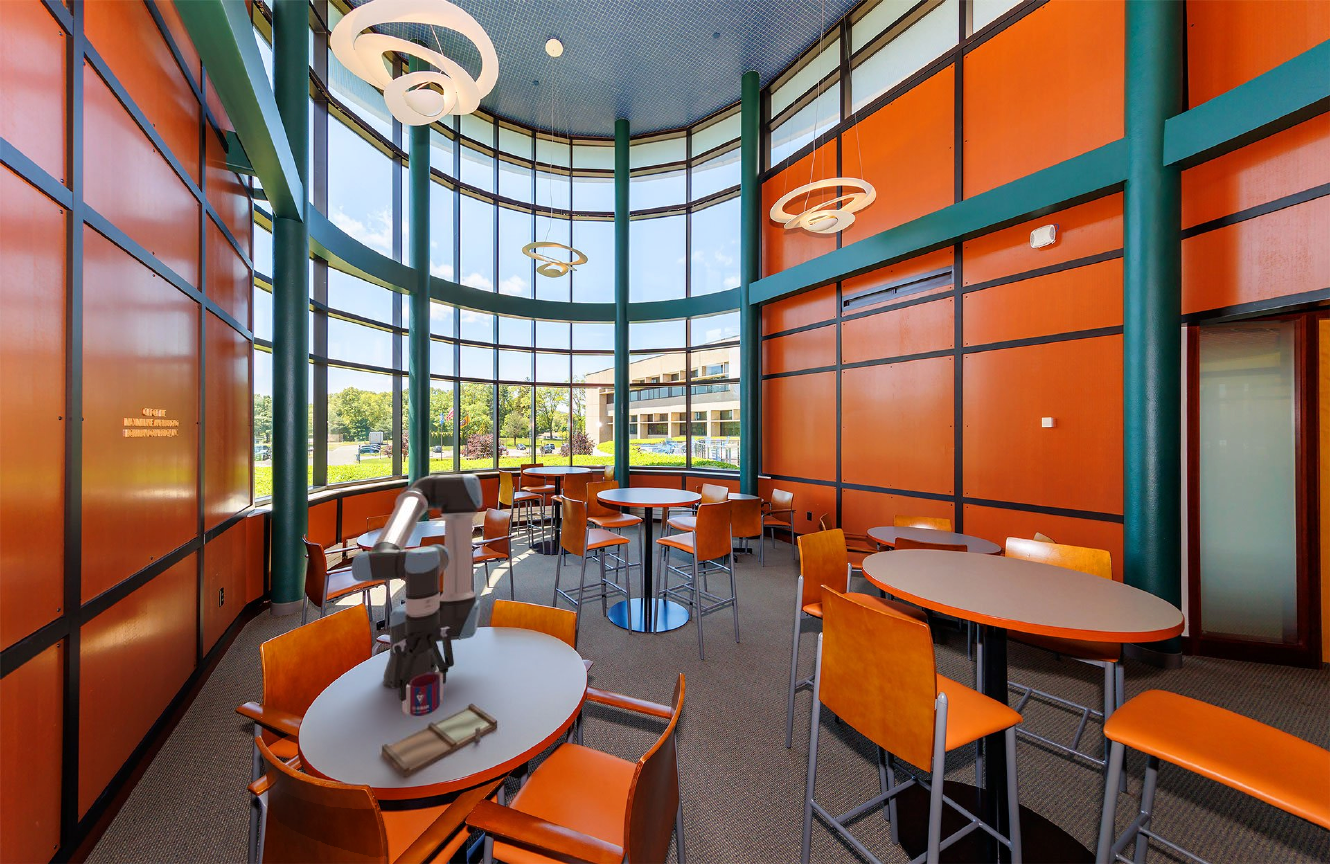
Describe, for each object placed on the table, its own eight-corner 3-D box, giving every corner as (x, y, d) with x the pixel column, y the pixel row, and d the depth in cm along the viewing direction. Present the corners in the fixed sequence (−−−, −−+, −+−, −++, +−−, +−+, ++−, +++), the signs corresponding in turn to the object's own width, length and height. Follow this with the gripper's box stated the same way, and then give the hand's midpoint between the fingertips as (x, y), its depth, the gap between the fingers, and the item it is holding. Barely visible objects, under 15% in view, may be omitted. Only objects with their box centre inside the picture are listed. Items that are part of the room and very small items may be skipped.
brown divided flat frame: (381, 753, 113) (381, 740, 113) (471, 709, 131) (471, 698, 131) (407, 780, 104) (407, 766, 104) (500, 729, 121) (500, 718, 122)
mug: (404, 717, 109) (404, 688, 110) (419, 694, 119) (419, 668, 119) (435, 714, 111) (435, 685, 111) (446, 691, 120) (446, 665, 121)
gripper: (384, 628, 104) (384, 730, 104) (469, 603, 120) (469, 692, 120) (371, 620, 109) (372, 718, 109) (455, 597, 125) (455, 682, 124)
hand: (423, 704), depth 114 cm, fingers closed on mug, 7 cm apart
